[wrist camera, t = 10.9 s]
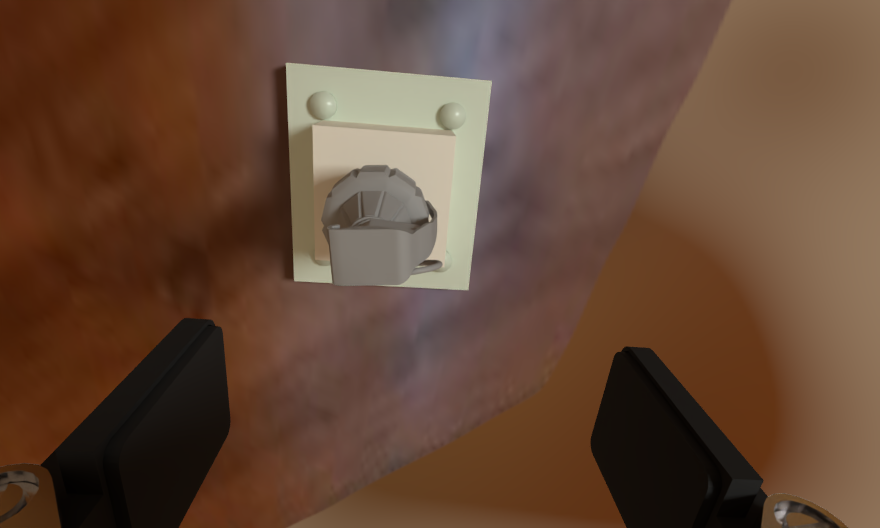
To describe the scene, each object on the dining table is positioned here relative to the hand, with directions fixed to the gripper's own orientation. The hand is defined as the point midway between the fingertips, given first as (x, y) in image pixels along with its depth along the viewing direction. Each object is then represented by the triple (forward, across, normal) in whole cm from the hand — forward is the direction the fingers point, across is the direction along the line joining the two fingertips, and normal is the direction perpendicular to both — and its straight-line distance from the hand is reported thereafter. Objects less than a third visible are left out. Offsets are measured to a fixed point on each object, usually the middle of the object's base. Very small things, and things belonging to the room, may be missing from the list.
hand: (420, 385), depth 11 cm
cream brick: (+25, +2, +1) cm, 25 cm away
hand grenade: (+21, +2, +1) cm, 21 cm away
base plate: (+26, +2, +1) cm, 26 cm away
